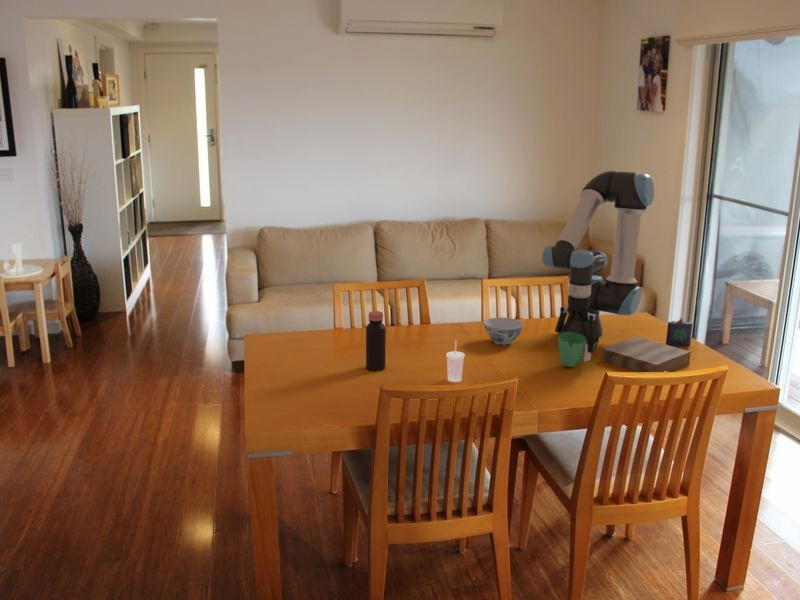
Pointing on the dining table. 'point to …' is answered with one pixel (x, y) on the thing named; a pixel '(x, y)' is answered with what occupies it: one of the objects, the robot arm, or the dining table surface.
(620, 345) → the walnut box
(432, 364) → the dining table surface
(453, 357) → the beverage cup
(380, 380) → the dining table surface
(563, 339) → the mug
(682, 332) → the flask
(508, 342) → the chinaware
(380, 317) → the bottle
